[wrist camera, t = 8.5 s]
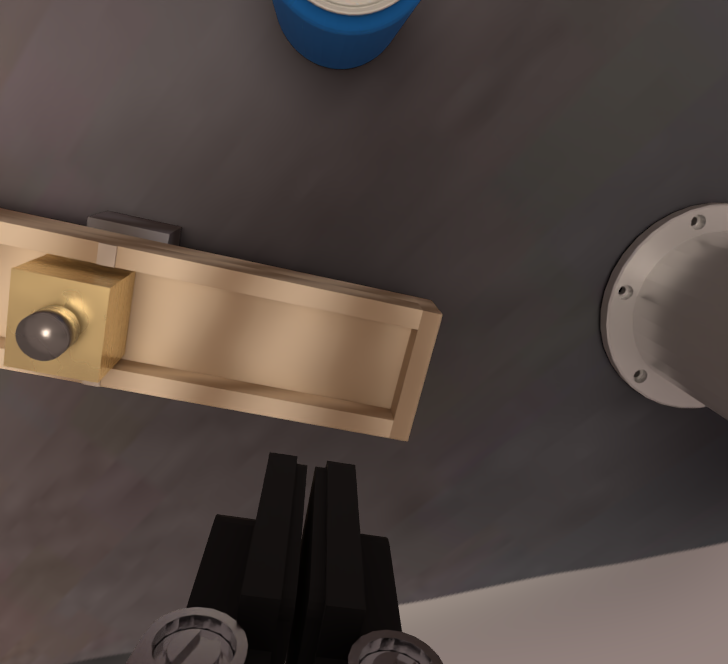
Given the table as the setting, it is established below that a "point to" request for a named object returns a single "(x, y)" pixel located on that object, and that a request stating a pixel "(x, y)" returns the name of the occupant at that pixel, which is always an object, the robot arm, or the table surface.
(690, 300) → the robot arm
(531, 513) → the table surface
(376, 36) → the beverage can
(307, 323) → the beam
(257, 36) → the table surface
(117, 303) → the rider
